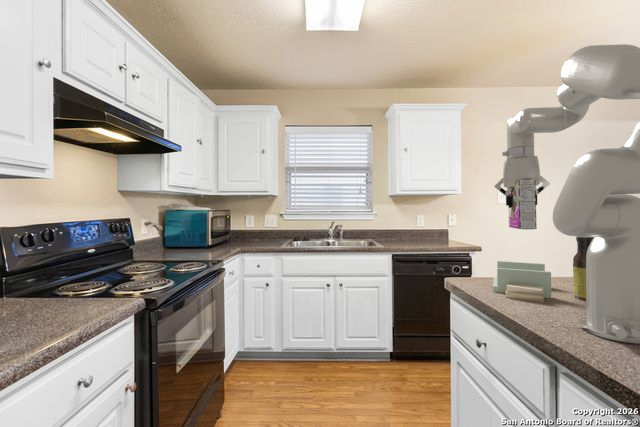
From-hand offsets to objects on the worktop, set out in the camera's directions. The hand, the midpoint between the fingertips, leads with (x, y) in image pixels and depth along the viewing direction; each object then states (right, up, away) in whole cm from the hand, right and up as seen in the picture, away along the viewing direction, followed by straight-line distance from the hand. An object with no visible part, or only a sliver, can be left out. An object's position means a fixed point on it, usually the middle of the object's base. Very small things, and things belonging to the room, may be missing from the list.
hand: (521, 207), depth 99 cm
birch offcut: (-5, -28, -9) cm, 30 cm away
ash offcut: (-5, -26, -9) cm, 28 cm away
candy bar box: (0, -7, 0) cm, 7 cm away
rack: (+1, -29, +1) cm, 29 cm away
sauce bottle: (+12, -29, -11) cm, 33 cm away
